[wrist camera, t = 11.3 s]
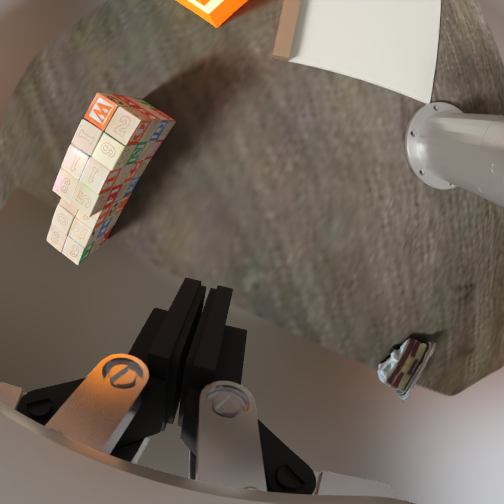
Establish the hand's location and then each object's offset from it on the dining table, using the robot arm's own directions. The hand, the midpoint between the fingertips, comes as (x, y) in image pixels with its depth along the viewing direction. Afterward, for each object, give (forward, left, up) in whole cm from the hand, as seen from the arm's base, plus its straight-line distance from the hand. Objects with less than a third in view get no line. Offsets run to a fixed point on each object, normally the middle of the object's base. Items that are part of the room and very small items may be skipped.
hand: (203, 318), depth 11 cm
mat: (-12, -26, -32) cm, 43 cm away
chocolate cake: (-34, +22, -34) cm, 53 cm away
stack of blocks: (+19, +3, -32) cm, 37 cm away
